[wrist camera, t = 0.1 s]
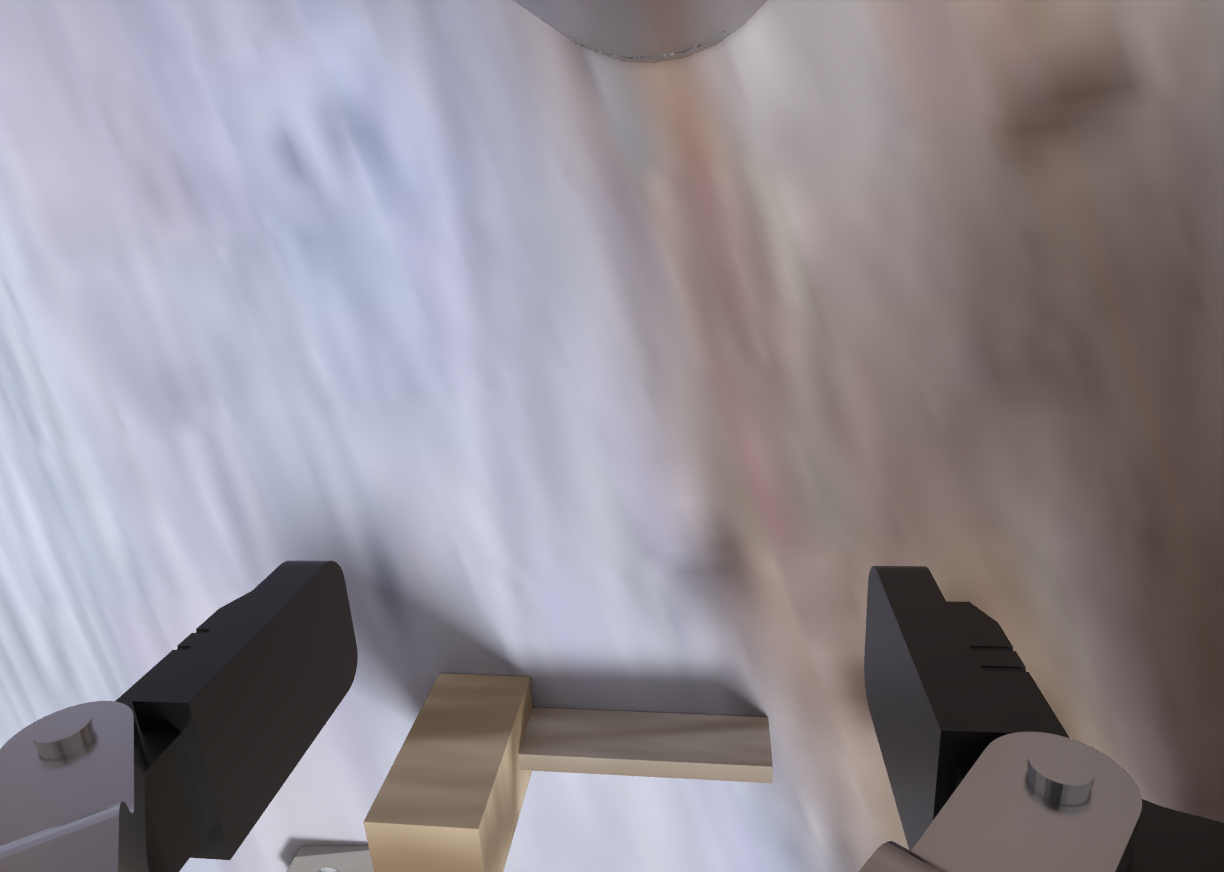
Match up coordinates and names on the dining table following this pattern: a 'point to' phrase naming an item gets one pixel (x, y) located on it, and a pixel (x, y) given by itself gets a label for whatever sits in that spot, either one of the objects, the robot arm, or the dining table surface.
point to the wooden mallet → (529, 766)
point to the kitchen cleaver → (332, 859)
